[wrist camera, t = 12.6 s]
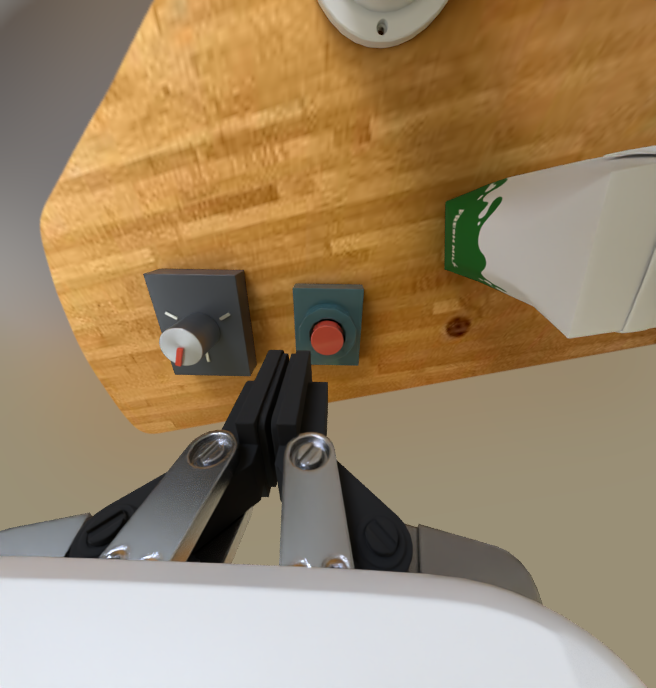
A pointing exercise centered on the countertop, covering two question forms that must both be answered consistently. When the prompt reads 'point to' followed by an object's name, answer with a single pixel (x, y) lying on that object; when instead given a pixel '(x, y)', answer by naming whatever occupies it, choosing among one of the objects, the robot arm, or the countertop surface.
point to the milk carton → (566, 241)
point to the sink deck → (214, 301)
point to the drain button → (327, 337)
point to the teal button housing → (329, 318)
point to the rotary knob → (189, 339)
